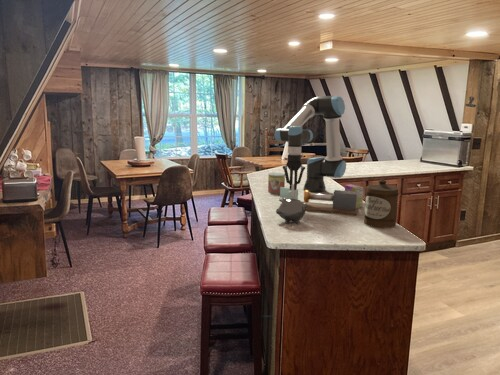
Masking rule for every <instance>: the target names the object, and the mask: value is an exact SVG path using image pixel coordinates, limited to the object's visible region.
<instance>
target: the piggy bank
mask: <svg viewBox="0 0 500 375" xmlns="http://www.w3.org/2000/svg"><path fill="white" fill-rule="evenodd" d="M303 202H304V201H302V200H299V199H298V200H297V199H286V198H283V201H281V203H280V205H279V206H278V208H276V210H275V213H276V214H277V215H278V216H279V217H280V218H282V219H283V220H284V222H285V224H287V225H288V224H290V222H293V223H294V224H295V225H299V221H300V220H302V219H303V218H304V216H305V214H306V212H307V211H306V208H307V206H308V205H307V204H304V203H303Z"/></svg>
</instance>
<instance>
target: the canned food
mask: <svg viewBox="0 0 500 375" xmlns="http://www.w3.org/2000/svg"><path fill="white" fill-rule="evenodd" d="M285 181H286V177H285V173H279V172H272V173H271V172H270V173H268V182H267V183H268V184H267V190H268V191H267V192H268V193H269V194H280V187H284V188H286V187H285V183H286V182H285Z"/></svg>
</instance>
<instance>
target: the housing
mask: <svg viewBox="0 0 500 375" xmlns="http://www.w3.org/2000/svg"><path fill="white" fill-rule="evenodd" d="M332 195H333V201H332V204H333V209H339V210H351V211H355V210H356V200H357V192H355V191H345V190H340V189H337V190H336V189H334V191H333V193H332Z"/></svg>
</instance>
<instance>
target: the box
mask: <svg viewBox="0 0 500 375" xmlns="http://www.w3.org/2000/svg"><path fill="white" fill-rule="evenodd" d="M344 191H355V192H357V200H356V206H358V209H359V208H363V206H364V205H363V204H364V186H360V185H356V184H345V185H344Z"/></svg>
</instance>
